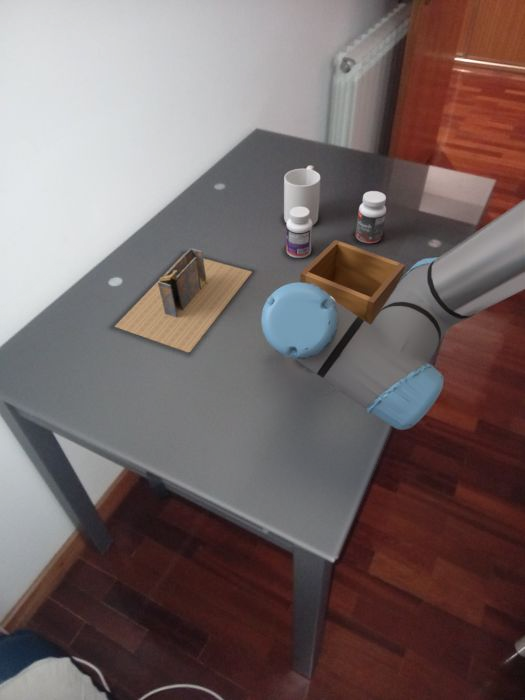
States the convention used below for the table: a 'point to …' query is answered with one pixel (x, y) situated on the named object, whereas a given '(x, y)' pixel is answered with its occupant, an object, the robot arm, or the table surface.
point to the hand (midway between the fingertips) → (319, 327)
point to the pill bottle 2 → (371, 217)
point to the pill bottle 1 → (299, 233)
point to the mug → (302, 192)
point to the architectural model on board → (184, 301)
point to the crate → (354, 278)
